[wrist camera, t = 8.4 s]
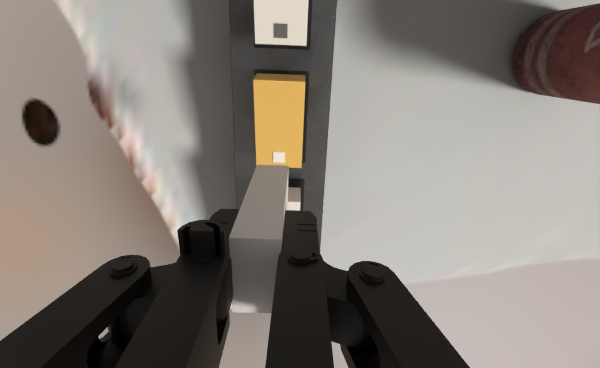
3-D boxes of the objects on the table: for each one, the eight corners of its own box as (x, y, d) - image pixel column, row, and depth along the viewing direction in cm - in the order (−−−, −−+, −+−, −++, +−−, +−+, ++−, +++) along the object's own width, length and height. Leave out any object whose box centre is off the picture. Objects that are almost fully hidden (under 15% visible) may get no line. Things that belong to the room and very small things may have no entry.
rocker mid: (256, 73, 22) (253, 80, 20) (305, 75, 22) (305, 81, 20) (259, 155, 25) (256, 166, 23) (301, 156, 25) (301, 168, 23)
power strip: (232, -185, 21) (218, -238, 17) (343, -179, 21) (352, -231, 17) (244, 237, 32) (237, 261, 28) (316, 239, 32) (319, 264, 29)
